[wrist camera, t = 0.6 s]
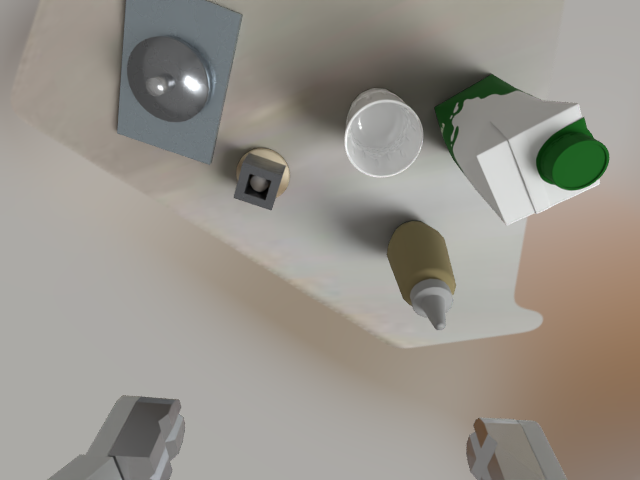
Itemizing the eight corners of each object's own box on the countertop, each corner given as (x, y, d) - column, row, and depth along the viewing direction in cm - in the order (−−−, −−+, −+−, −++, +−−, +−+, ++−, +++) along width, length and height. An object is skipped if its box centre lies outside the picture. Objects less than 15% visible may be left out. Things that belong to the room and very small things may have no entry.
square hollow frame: (248, 152, 48) (242, 162, 45) (286, 165, 49) (282, 176, 46) (240, 186, 51) (233, 197, 48) (275, 198, 52) (271, 210, 49)
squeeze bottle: (394, 207, 53) (417, 288, 37) (449, 220, 53) (493, 305, 38) (376, 254, 57) (390, 344, 42) (427, 265, 58) (459, 358, 42)
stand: (244, 140, 49) (238, 149, 46) (296, 158, 50) (293, 168, 47) (232, 187, 52) (226, 198, 49) (281, 203, 53) (277, 215, 50)
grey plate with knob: (131, -30, 40) (99, -36, 34) (242, 14, 41) (228, 15, 36) (120, 131, 49) (93, 146, 43) (211, 162, 50) (196, 180, 45)
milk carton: (521, 128, 46) (626, 197, 29) (450, 164, 49) (509, 247, 32) (497, 61, 43) (601, 96, 26) (422, 105, 45) (472, 163, 28)
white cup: (340, 146, 48) (341, 175, 40) (346, 80, 44) (347, 97, 36) (402, 149, 48) (415, 180, 40) (413, 84, 44) (430, 102, 36)
